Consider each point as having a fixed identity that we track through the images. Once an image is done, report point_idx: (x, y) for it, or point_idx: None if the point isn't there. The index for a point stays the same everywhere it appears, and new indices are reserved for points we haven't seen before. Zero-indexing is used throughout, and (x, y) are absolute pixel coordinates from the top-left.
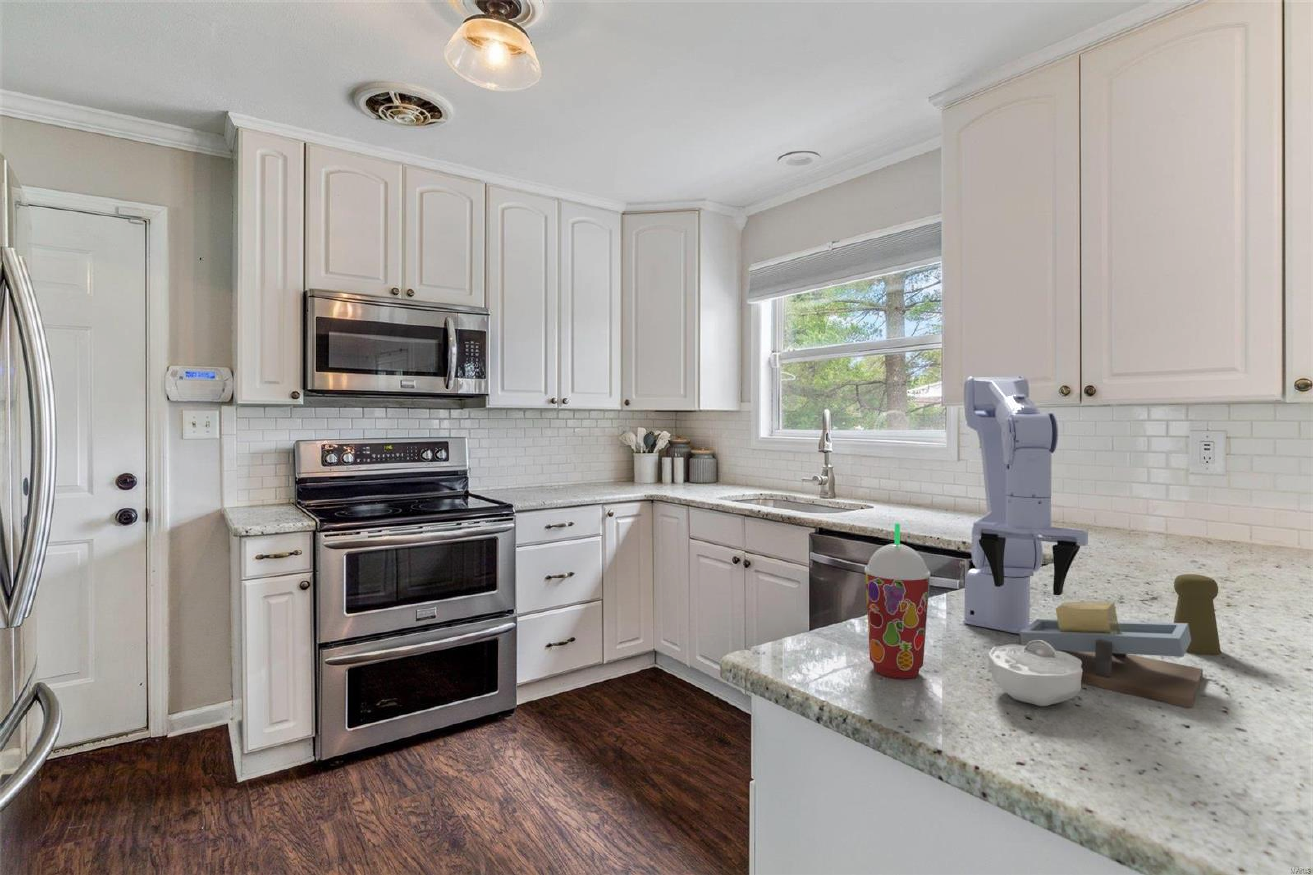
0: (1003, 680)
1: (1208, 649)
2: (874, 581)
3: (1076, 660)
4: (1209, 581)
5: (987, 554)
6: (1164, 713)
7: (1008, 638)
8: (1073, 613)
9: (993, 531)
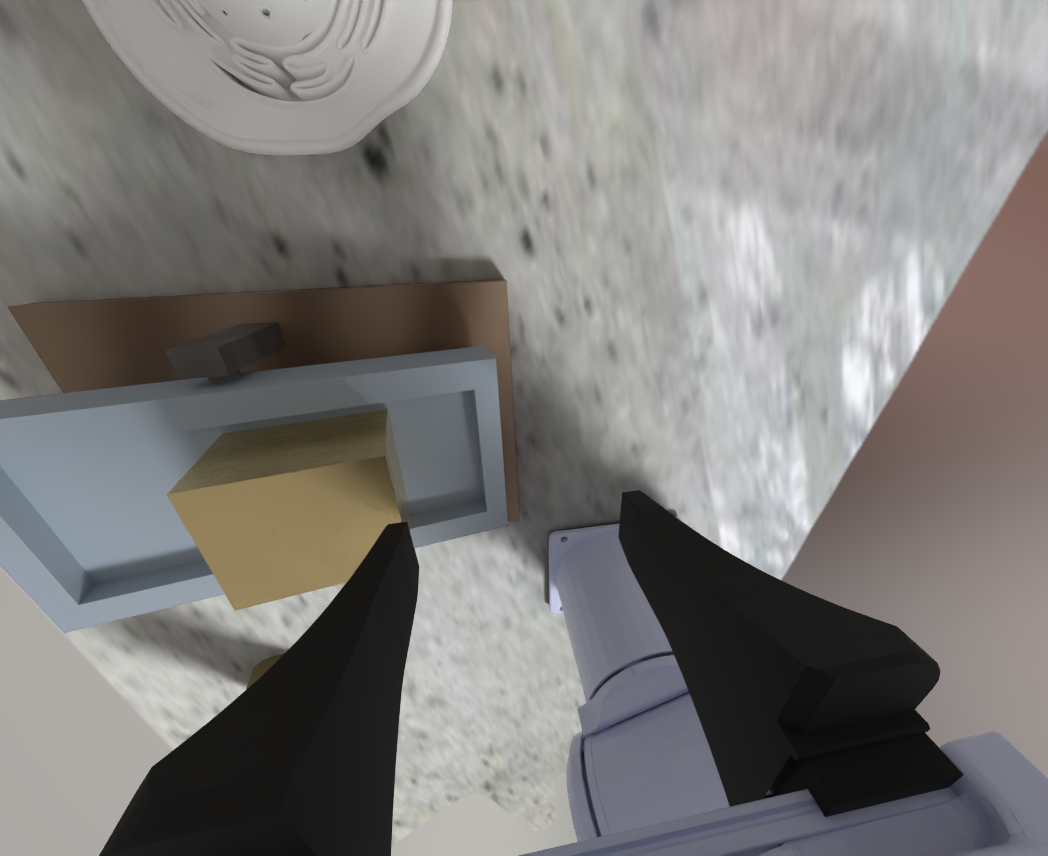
0: None
1: (254, 675)
2: None
3: (140, 56)
4: None
5: (775, 586)
6: (30, 194)
7: (570, 494)
8: (319, 457)
9: (885, 843)
